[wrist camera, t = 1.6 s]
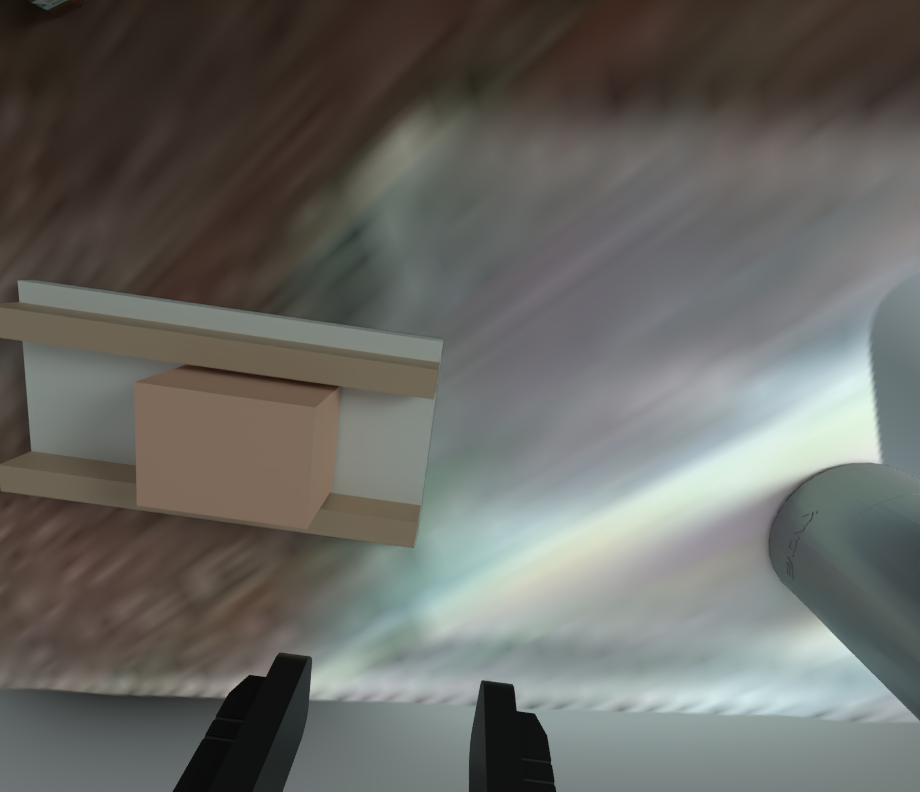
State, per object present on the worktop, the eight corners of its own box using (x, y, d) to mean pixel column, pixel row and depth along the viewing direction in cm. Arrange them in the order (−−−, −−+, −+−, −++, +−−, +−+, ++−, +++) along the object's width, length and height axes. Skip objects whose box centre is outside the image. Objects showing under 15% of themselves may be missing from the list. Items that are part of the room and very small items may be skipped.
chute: (443, 339, 27) (440, 347, 24) (417, 536, 30) (411, 565, 27) (34, 280, 26) (-20, 281, 23) (49, 485, 29) (2, 509, 26)
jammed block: (341, 384, 26) (315, 407, 22) (332, 488, 28) (306, 529, 23) (190, 363, 26) (134, 382, 22) (189, 468, 27) (136, 505, 23)
